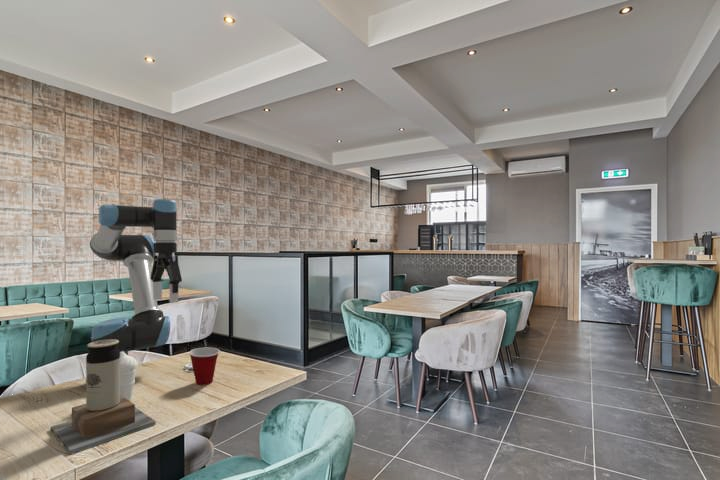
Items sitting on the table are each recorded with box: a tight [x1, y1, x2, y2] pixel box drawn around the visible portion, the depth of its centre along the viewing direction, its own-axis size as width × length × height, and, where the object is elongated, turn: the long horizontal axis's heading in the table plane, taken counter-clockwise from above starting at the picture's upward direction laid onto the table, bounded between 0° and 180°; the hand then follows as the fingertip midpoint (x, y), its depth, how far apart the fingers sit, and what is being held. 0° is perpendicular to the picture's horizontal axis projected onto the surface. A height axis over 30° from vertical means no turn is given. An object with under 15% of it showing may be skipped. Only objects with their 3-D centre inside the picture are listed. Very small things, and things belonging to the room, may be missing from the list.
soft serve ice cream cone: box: [120, 351, 139, 401], centre depth 128 cm, size 8×8×16 cm
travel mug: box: [85, 339, 120, 411], centre depth 108 cm, size 8×8×18 cm
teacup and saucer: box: [183, 360, 194, 373], centre depth 158 cm, size 9×8×4 cm
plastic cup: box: [189, 347, 221, 386], centre depth 142 cm, size 11×11×12 cm
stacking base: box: [49, 395, 157, 455], centre depth 107 cm, size 20×20×6 cm
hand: (165, 300), depth 137 cm, fingers open, 13 cm apart
